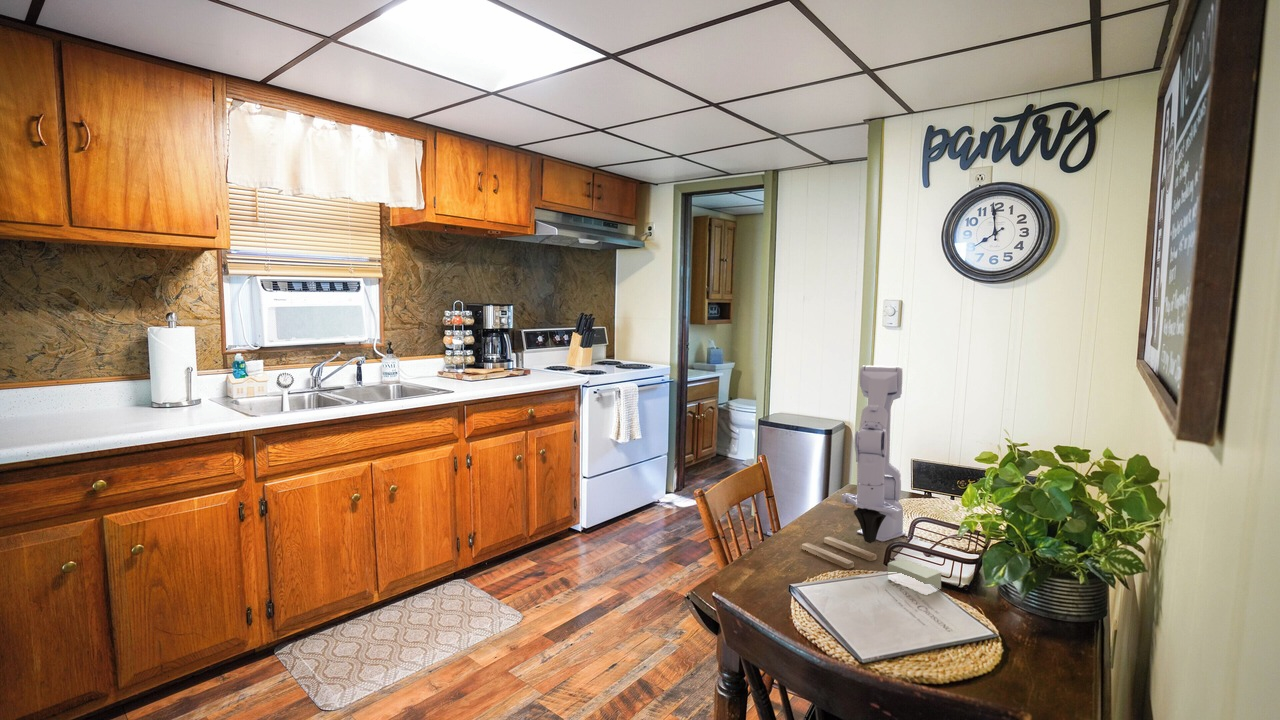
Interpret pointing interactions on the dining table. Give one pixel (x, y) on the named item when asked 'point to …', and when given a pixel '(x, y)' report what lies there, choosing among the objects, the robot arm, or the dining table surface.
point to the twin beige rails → (836, 558)
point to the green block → (916, 571)
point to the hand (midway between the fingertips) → (870, 541)
